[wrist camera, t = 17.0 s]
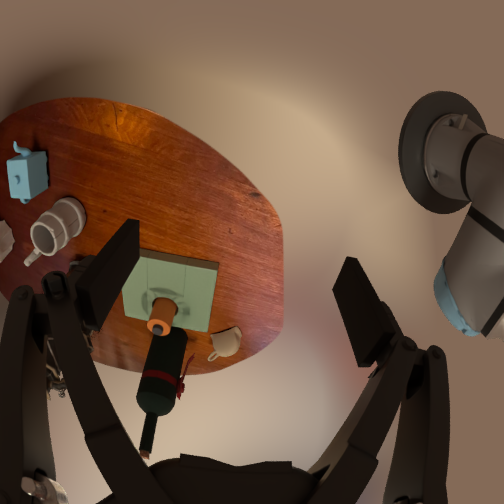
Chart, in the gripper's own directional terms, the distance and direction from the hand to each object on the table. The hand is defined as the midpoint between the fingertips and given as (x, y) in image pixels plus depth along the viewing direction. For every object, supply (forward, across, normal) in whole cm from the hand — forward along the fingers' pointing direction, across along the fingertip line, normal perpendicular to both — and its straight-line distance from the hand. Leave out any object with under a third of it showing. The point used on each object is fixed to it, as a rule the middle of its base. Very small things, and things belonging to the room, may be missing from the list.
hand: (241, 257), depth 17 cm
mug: (+26, -32, -15) cm, 44 cm away
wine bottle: (+26, -9, -40) cm, 49 cm away
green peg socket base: (+26, -11, -26) cm, 39 cm away
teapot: (+26, -39, -4) cm, 47 cm away
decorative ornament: (+27, +2, -37) cm, 46 cm away
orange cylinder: (+26, -11, -29) cm, 41 cm away
